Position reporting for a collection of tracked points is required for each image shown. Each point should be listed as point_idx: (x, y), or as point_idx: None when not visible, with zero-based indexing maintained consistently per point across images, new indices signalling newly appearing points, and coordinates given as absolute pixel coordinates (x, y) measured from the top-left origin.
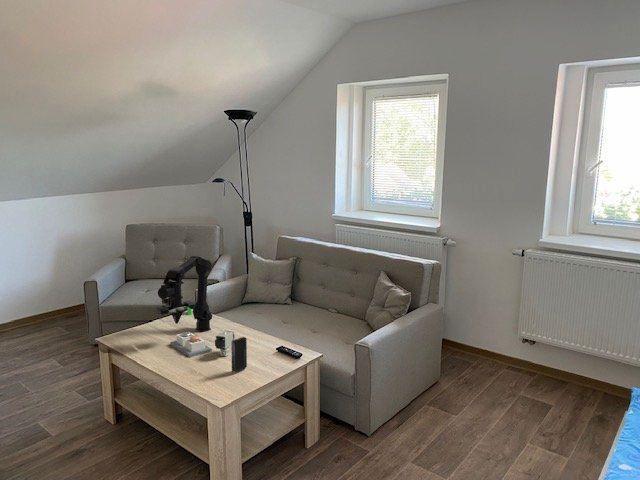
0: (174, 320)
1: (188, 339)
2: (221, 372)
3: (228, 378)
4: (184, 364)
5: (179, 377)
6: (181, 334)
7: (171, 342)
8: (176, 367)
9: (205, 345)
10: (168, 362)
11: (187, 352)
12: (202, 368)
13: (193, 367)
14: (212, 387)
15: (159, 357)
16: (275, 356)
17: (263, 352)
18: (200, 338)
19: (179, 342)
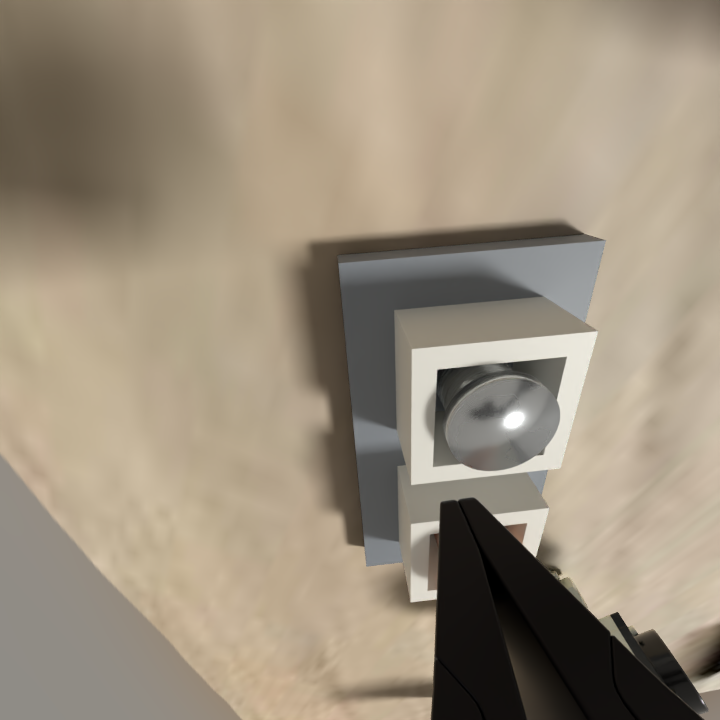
0: (438, 577)
1: None
2: (408, 686)
3: (401, 715)
4: (302, 602)
5: (238, 679)
6: (448, 421)
7: (344, 288)
8: (251, 615)
9: (540, 488)
10: (224, 560)
11: (370, 540)
12: (361, 650)
13: (329, 635)
14: None
15: (178, 479)
16: (673, 649)
17: (684, 612)
18: (538, 540)
19: (398, 381)
